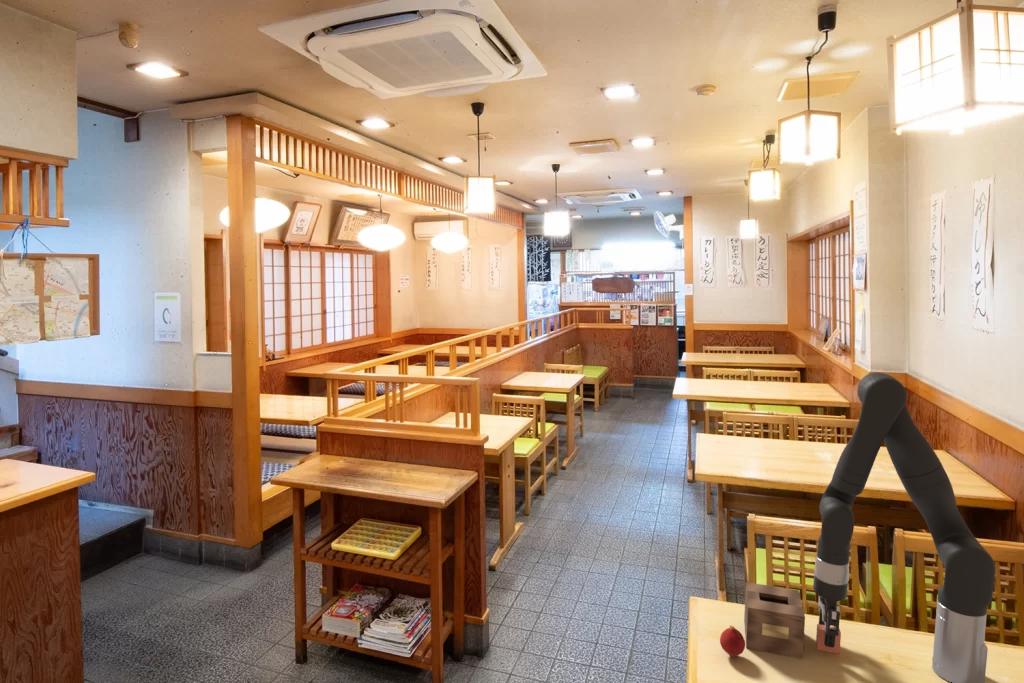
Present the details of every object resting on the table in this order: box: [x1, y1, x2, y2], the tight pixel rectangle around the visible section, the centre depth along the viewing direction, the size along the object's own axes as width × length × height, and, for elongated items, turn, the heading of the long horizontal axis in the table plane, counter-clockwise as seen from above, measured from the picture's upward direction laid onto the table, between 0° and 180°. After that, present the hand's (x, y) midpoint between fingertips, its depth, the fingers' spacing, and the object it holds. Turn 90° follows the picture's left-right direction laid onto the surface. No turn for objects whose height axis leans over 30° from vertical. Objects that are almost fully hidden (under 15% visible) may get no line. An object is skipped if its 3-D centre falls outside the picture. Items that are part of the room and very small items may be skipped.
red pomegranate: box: [719, 625, 746, 658], centre depth 146 cm, size 6×6×8 cm
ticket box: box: [743, 581, 806, 660], centre depth 153 cm, size 13×13×11 cm
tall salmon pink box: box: [815, 623, 842, 654], centre depth 149 cm, size 5×2×6 cm, turn 71°
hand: (826, 636), depth 149 cm, fingers open, 8 cm apart
